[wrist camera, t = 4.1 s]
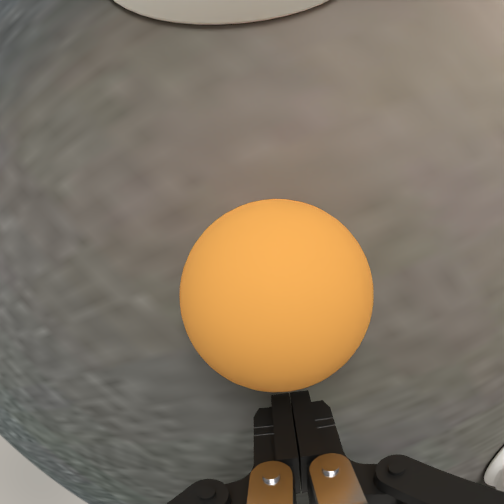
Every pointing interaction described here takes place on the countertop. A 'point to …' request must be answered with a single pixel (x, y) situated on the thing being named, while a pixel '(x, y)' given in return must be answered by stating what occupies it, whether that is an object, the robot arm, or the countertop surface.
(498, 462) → the jar
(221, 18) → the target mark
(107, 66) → the countertop surface
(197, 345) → the ball
